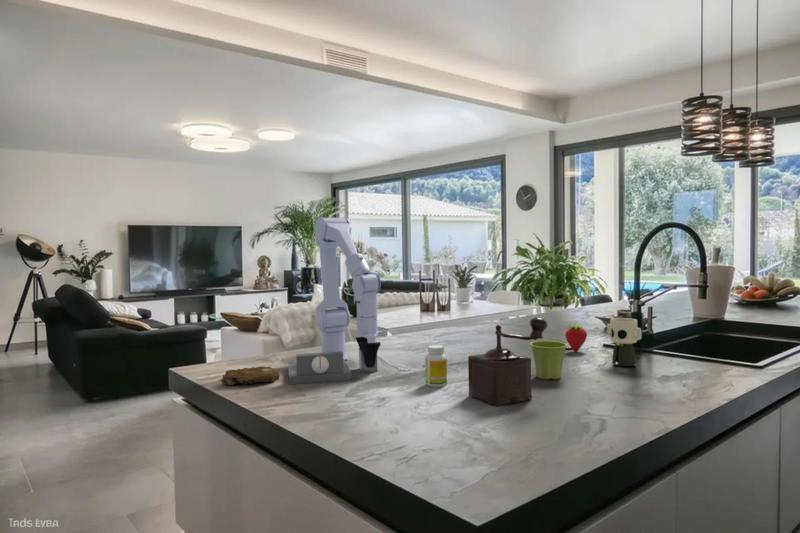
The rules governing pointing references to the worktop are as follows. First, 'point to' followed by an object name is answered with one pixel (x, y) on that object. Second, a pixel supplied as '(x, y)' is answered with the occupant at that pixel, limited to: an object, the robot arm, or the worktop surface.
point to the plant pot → (548, 358)
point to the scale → (318, 368)
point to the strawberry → (576, 337)
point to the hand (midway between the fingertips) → (368, 364)
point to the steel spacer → (363, 366)
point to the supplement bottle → (436, 366)
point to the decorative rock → (250, 375)
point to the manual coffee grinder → (503, 371)
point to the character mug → (623, 340)
